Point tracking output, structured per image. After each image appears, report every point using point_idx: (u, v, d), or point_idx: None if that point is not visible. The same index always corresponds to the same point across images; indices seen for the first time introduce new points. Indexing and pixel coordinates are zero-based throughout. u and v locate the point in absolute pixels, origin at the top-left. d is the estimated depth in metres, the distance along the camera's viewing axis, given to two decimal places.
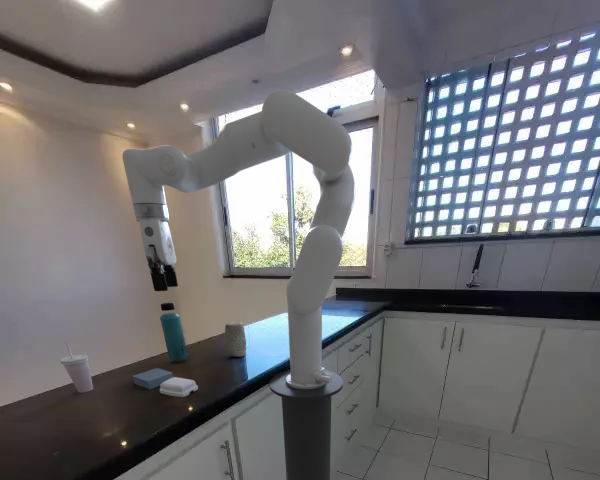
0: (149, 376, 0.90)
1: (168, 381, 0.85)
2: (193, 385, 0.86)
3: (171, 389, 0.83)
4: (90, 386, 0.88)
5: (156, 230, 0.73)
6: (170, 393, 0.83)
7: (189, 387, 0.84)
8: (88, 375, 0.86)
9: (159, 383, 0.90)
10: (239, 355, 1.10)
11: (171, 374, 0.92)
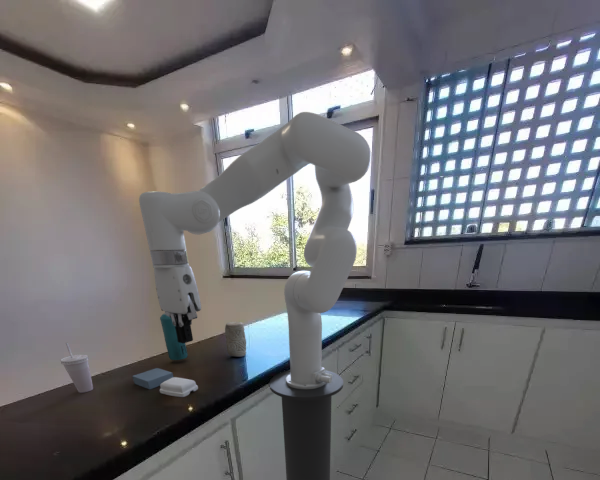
0: (149, 376, 0.90)
1: (168, 381, 0.85)
2: (193, 385, 0.86)
3: (171, 389, 0.83)
4: (90, 386, 0.88)
5: (193, 277, 0.68)
6: (170, 393, 0.83)
7: (189, 387, 0.84)
8: (88, 375, 0.86)
9: (159, 383, 0.90)
10: (239, 355, 1.10)
11: (171, 374, 0.92)
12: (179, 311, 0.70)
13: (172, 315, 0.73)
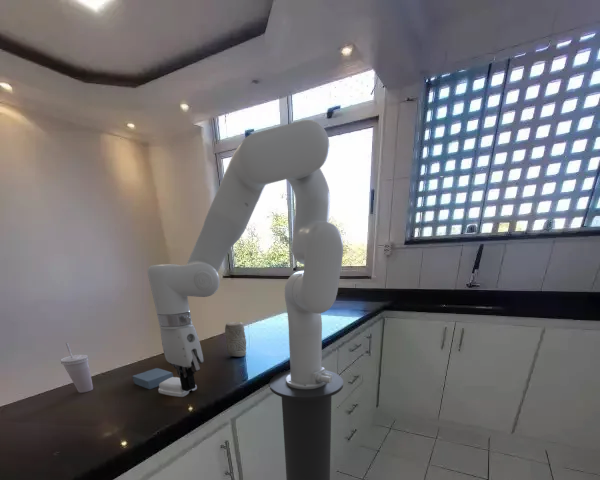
0: (149, 376, 0.90)
1: (166, 381, 0.85)
2: None
3: (170, 389, 0.83)
4: (90, 386, 0.88)
5: (196, 335, 0.75)
6: (169, 393, 0.84)
7: None
8: (88, 375, 0.86)
9: (159, 383, 0.90)
10: (239, 355, 1.10)
11: (171, 374, 0.92)
12: (183, 365, 0.77)
13: (177, 366, 0.80)
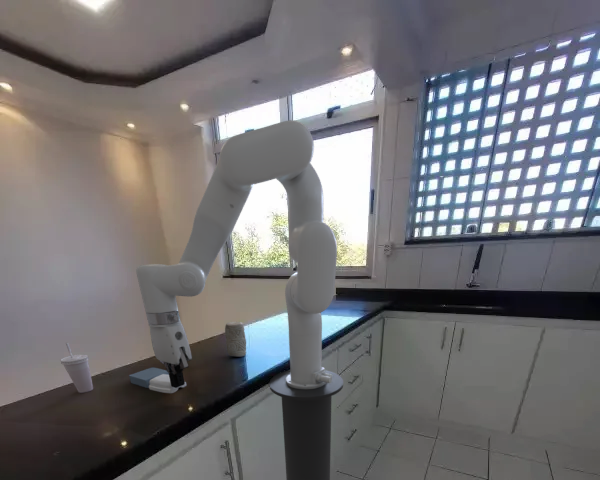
0: (146, 375, 0.91)
1: (157, 378, 0.87)
2: None
3: (160, 385, 0.86)
4: (90, 386, 0.88)
5: (184, 333, 0.78)
6: (159, 389, 0.86)
7: None
8: (88, 375, 0.86)
9: None
10: (239, 355, 1.10)
11: (168, 373, 0.94)
12: (172, 362, 0.79)
13: (166, 364, 0.82)
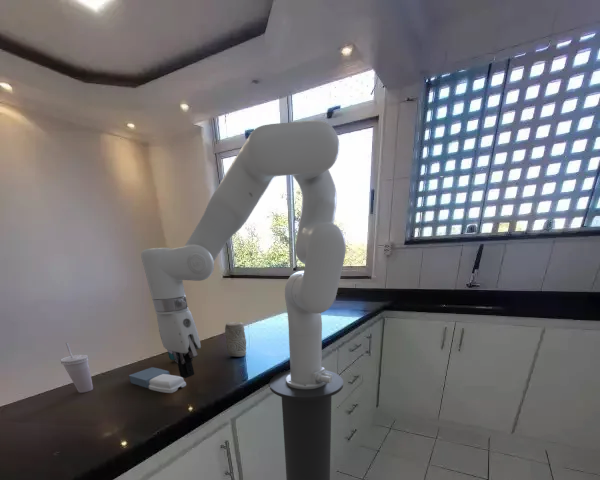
0: (146, 375, 0.91)
1: (156, 378, 0.87)
2: (181, 381, 0.88)
3: (159, 385, 0.86)
4: (90, 386, 0.88)
5: (192, 320, 0.75)
6: (158, 389, 0.86)
7: (177, 383, 0.87)
8: (88, 375, 0.86)
9: None
10: (239, 355, 1.10)
11: (168, 373, 0.94)
12: (181, 351, 0.76)
13: (174, 353, 0.79)
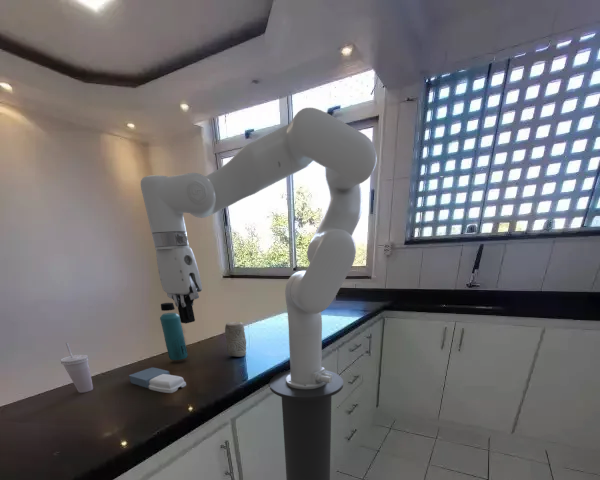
0: (146, 374, 0.91)
1: (156, 378, 0.87)
2: (181, 381, 0.88)
3: (159, 385, 0.86)
4: (90, 386, 0.88)
5: (194, 258, 0.72)
6: (158, 389, 0.86)
7: (177, 383, 0.87)
8: (88, 375, 0.86)
9: None
10: (239, 355, 1.10)
11: (168, 373, 0.94)
12: (181, 291, 0.73)
13: (174, 296, 0.76)
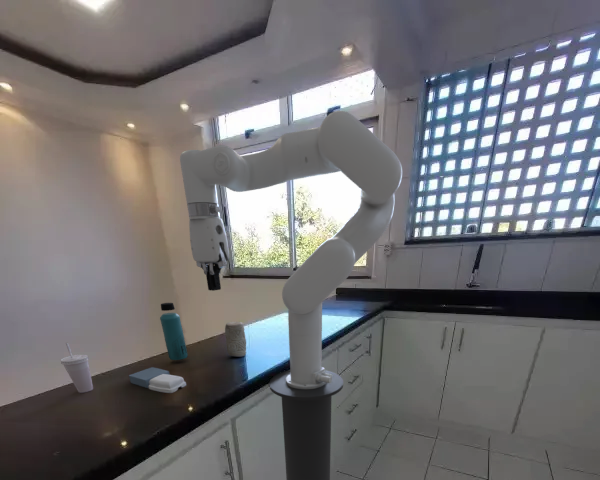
0: (146, 374, 0.91)
1: (156, 378, 0.87)
2: (181, 381, 0.88)
3: (159, 385, 0.86)
4: (90, 386, 0.88)
5: (224, 229, 0.78)
6: (158, 389, 0.86)
7: (177, 383, 0.87)
8: (88, 375, 0.86)
9: None
10: (239, 355, 1.10)
11: (168, 373, 0.94)
12: (211, 259, 0.80)
13: (204, 265, 0.83)
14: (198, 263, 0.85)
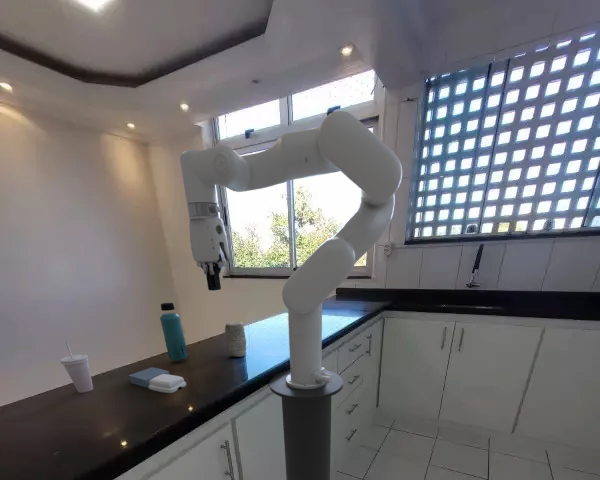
0: (146, 374, 0.91)
1: (157, 378, 0.87)
2: (181, 381, 0.88)
3: (159, 385, 0.86)
4: (90, 386, 0.88)
5: (224, 229, 0.78)
6: (158, 389, 0.86)
7: (177, 383, 0.87)
8: (88, 375, 0.86)
9: None
10: (239, 355, 1.10)
11: (168, 373, 0.94)
12: (211, 259, 0.80)
13: (204, 264, 0.83)
14: (198, 263, 0.85)
